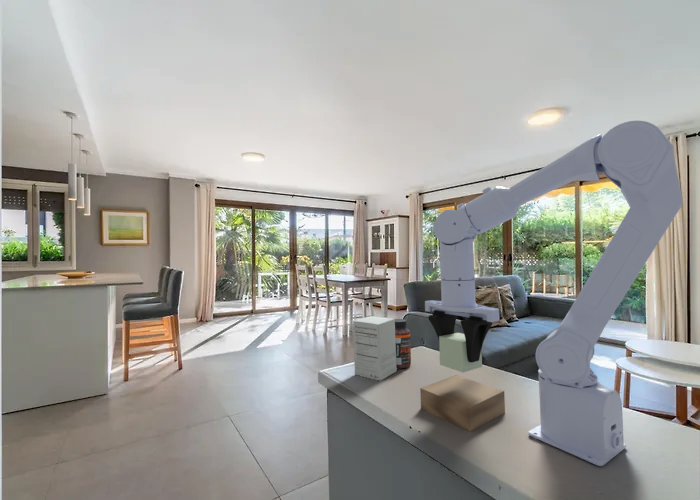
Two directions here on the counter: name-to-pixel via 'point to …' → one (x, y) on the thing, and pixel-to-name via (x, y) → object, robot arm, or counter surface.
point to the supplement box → (374, 347)
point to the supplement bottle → (402, 344)
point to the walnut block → (463, 401)
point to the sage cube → (456, 353)
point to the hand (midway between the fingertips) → (460, 357)
